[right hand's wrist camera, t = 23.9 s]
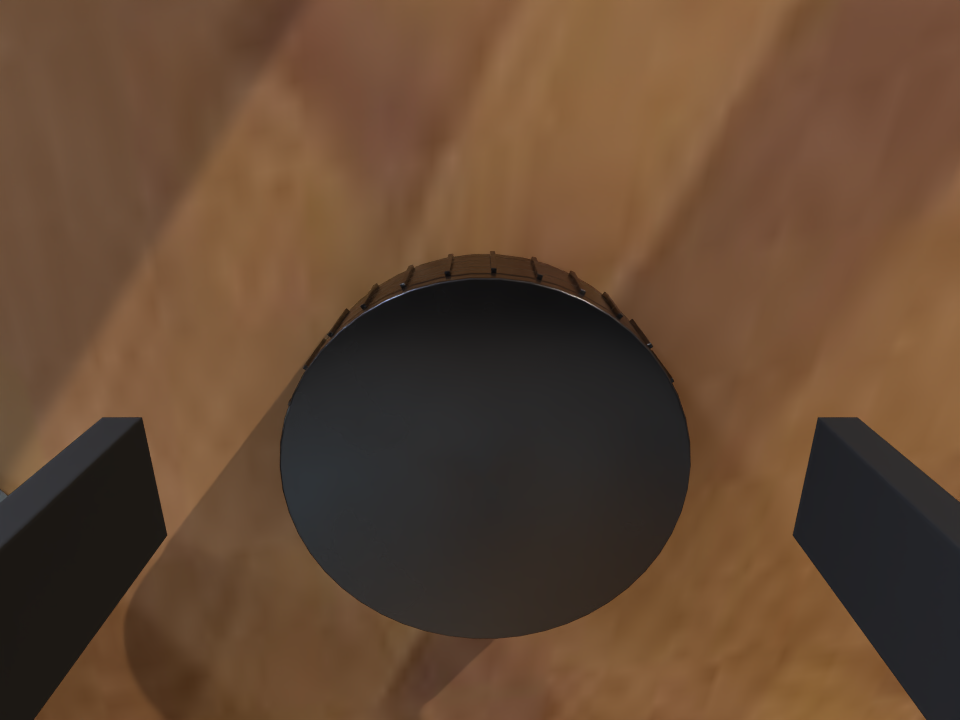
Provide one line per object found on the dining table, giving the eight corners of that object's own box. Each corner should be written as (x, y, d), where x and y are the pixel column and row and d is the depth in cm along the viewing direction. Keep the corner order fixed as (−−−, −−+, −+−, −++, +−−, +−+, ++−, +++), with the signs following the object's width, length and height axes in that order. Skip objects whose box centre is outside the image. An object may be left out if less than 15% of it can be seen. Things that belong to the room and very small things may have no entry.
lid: (440, 626, 19) (435, 696, 16) (229, 382, 16) (187, 426, 14) (727, 472, 17) (764, 527, 15) (541, 169, 14) (552, 179, 12)
